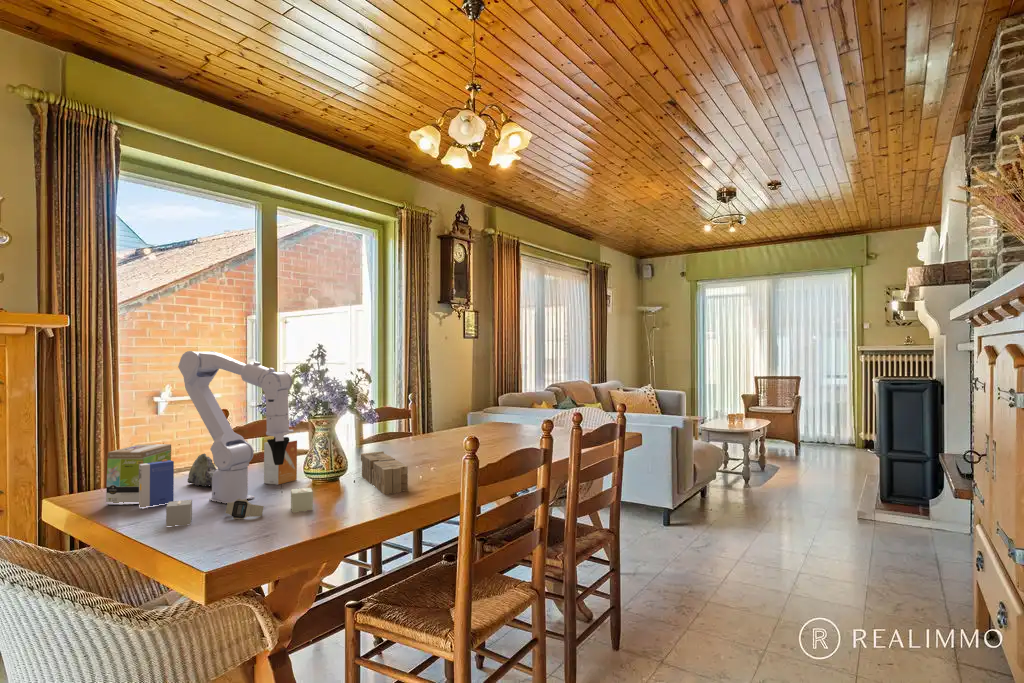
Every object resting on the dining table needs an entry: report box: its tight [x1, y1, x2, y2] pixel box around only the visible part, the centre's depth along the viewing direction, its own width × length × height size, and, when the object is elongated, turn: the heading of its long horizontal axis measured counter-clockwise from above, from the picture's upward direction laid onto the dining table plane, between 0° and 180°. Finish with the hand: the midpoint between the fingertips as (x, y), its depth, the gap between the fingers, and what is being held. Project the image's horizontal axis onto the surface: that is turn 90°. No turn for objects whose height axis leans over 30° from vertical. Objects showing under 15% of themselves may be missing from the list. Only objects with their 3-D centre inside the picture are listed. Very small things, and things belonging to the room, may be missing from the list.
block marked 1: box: [165, 499, 193, 527], centre depth 139 cm, size 5×5×5 cm
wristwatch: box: [225, 499, 265, 520], centre depth 145 cm, size 9×6×5 cm
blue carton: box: [138, 459, 175, 507], centre depth 156 cm, size 8×3×12 cm, turn 139°
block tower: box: [360, 451, 409, 495], centre depth 181 cm, size 8×8×29 cm
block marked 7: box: [290, 487, 314, 513], centre depth 151 cm, size 5×5×5 cm
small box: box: [263, 439, 298, 486], centre depth 185 cm, size 8×6×13 cm
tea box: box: [105, 443, 172, 503], centre depth 164 cm, size 15×10×15 cm
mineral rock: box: [187, 453, 218, 487], centre depth 179 cm, size 13×11×10 cm
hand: (278, 464), depth 159 cm, fingers closed
